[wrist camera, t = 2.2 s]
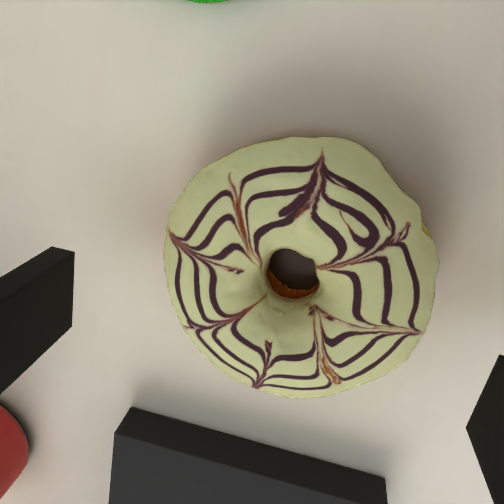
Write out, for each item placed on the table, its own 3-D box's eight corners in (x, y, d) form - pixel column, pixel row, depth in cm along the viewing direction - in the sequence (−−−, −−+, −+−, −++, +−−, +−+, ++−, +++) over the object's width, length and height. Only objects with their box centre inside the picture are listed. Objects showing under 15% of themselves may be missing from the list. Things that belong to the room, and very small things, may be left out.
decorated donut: (357, 80, 17) (362, 81, 14) (463, 311, 20) (489, 362, 17) (141, 199, 21) (101, 225, 17) (255, 385, 23) (240, 440, 20)
